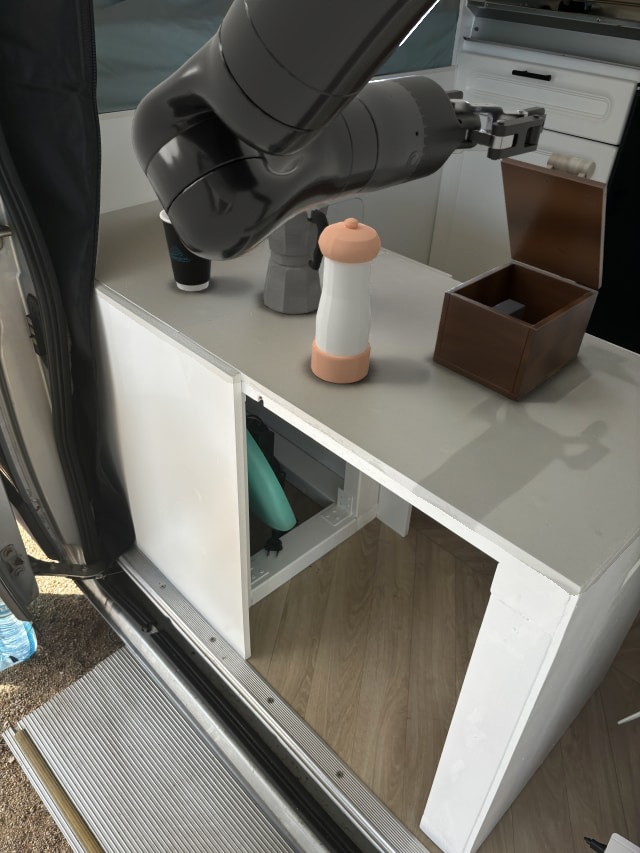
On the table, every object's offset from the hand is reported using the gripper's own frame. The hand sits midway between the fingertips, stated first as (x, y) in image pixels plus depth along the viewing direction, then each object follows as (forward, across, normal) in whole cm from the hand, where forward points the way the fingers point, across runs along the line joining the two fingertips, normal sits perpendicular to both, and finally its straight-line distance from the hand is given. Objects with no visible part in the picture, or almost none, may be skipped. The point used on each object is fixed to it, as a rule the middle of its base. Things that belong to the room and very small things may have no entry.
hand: (497, 111), depth 59 cm
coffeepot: (+4, +30, +32) cm, 44 cm away
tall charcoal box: (+11, 0, +31) cm, 33 cm away
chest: (+14, 0, +32) cm, 35 cm away
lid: (+18, 0, +15) cm, 23 cm away
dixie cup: (-4, +45, +32) cm, 55 cm away
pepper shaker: (-4, +13, +32) cm, 35 cm away
